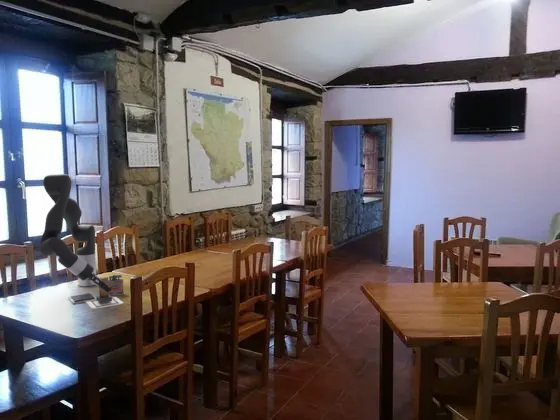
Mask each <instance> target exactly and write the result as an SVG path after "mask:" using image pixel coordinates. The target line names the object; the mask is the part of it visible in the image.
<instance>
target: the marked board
mask: <svg viewBox="0 0 560 420" xmlns="http://www.w3.org/2000/svg"><path fill="white" fill-rule="evenodd" d="M111 297H112V296H111ZM85 304H87V305H88V306H89V307H90V308H91V309H92V310H98V309H104V308H109V307H115V306H120V305H124V302H123V301H122V300H121V299H120V298H118V297H117V296H114V297H112V301H110V302H103V303H99V302H98V301H97V300H94V301H89V302H85Z"/></svg>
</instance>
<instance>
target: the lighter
mask: <svg viewBox="0 0 560 420" xmlns="http://www.w3.org/2000/svg"><path fill="white" fill-rule="evenodd" d="M122 277H123V275H122V274H117V275H116V274H113V275H109V276H108V284H109V287H110V288H111V290H110V292H109V295H110V296H117V295H119V296H120V295H124V294H125V291H124V279H123V278H122Z"/></svg>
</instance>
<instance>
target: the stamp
mask: <svg viewBox="0 0 560 420" xmlns="http://www.w3.org/2000/svg"><path fill="white" fill-rule="evenodd" d="M99 278H100V279H101V280H102V282H104V283H105V284H106V285H107V286H108V287H109V284H108V280H109V276H108V277H106V276H101V277H99ZM102 284H103V283H102ZM102 284H101V285H102ZM101 285H100V286H101ZM100 286H98V293H99V294H98V295H96V296H95V297H96V299H97V301H98V302H99V303H103V302H110V301H112V295H109V292H107V291H106V290H104V289H103V288H101V287H100Z"/></svg>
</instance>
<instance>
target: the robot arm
mask: <svg viewBox="0 0 560 420" xmlns="http://www.w3.org/2000/svg"><path fill="white" fill-rule="evenodd" d="M42 184H43V187H44V190H45V192H46V193H47V195H48V196H49V198H50V199H51V200H52V201H53V202H54V205H53V206H52V207H51V208H50V210H49V211H48V213H47V214H46V217H45V223H44V224H45V225H44V230H43V233H42V236H41V239H40V241H39V251H40V253H41V254H42V255H44V256H45V257H50V256H52V255H55V254H56V255H57V257H58V258H57V261H58V263H59V264H60V265H62V266H63V267H64V268H66V269H67V270H68V271H69V272H70V273H71V274H73V275H74V276H76V277H77V282H78V286H79V287H92V286H97V287H99V286H100V285H101V284H102V283H103V284H102V285H101V286H100V287H101V288H103V289H104V290H106V291H107V292H110V290H111V288H110V287H108V286H107V285H106V284H105V283H104V282H102V280H101V279H100V278H101V277H99V276H98V274H97V267H96V265H97V264H96V262H97V261H96V229H95V226H94V225H93V224H79V221H80V219H81V217H82V213H83V212H82V209H81V207H80V205H79V203H78V202H77V201H76V200H75V199H73V198H72V197H70V193H71V190H72V180H71V177H70V175H69V174H67V173H65V174H64V173H60V174H48V175H46V176H44V178H43V181H42ZM64 221H65V224H66V225H67V227H68V229H69V232H70V235H71V237H72V238H73V240H74V241H75V242H78V243H79V242H80V243H86V244H85V245H84V246H82V247H80V248H77V250H76V253H74V252H73V251H72V250H71V249H70V248H69V246H68V245H67V243H66V242H65V241H64V240H63V239H61V238H60V237H59V235H61V233H62V231H63V224H64Z"/></svg>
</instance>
